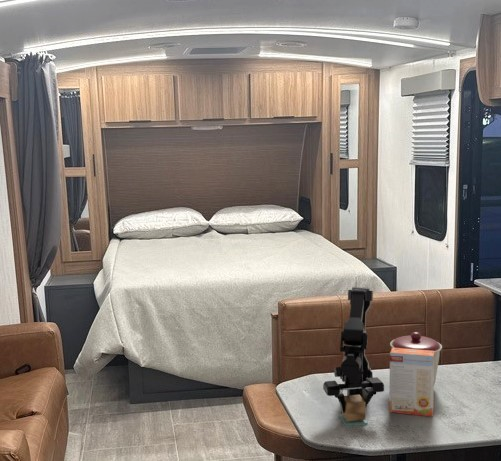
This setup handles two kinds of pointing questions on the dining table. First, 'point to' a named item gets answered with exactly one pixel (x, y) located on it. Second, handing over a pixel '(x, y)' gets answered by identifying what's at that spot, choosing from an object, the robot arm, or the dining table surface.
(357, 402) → the walnut cube
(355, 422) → the teal pad
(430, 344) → the canister
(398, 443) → the dining table surface
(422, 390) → the cracker box
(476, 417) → the dining table surface
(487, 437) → the dining table surface
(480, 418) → the dining table surface
